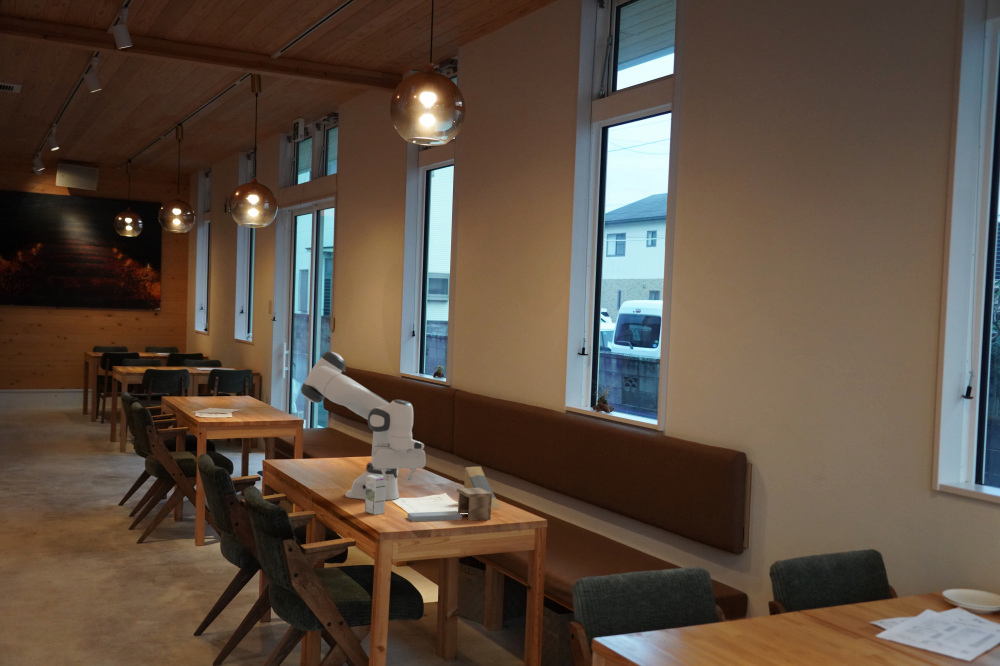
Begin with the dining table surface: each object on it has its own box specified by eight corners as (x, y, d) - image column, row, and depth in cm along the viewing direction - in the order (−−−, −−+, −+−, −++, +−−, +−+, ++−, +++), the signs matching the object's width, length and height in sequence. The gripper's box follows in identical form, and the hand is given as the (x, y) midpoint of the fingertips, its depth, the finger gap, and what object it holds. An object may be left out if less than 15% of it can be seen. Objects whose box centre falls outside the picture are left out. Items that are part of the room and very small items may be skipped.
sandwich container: (485, 510, 354) (487, 473, 354) (462, 502, 366) (464, 467, 366) (501, 508, 360) (503, 472, 360) (478, 500, 372) (480, 466, 372)
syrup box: (385, 513, 337) (387, 476, 337) (373, 515, 332) (375, 477, 332) (375, 510, 341) (377, 473, 341) (363, 512, 336) (366, 475, 336)
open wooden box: (466, 520, 333) (468, 494, 333) (455, 514, 343) (456, 488, 343) (490, 519, 337) (492, 493, 337) (478, 512, 347) (480, 487, 347)
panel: (412, 522, 326) (412, 516, 326) (407, 519, 332) (407, 512, 332) (461, 520, 334) (462, 514, 334) (455, 517, 340) (456, 511, 340)
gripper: (376, 444, 318) (373, 482, 319) (428, 444, 327) (426, 481, 327) (371, 442, 324) (368, 479, 324) (422, 442, 333) (420, 477, 333)
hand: (397, 480), depth 326 cm, fingers open, 8 cm apart
